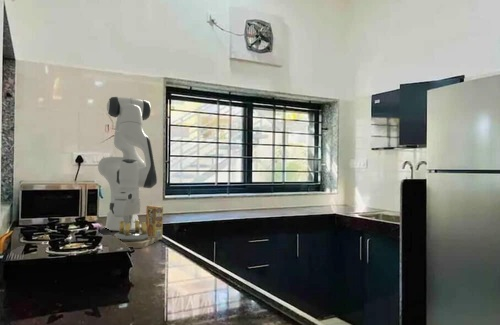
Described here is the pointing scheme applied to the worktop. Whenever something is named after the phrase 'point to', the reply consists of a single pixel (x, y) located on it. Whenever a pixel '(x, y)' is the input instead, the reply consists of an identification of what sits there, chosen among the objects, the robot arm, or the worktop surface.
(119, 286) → the worktop surface
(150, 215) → the candy box
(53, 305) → the worktop surface
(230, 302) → the worktop surface
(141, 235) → the cam disc
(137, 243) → the stand plate
